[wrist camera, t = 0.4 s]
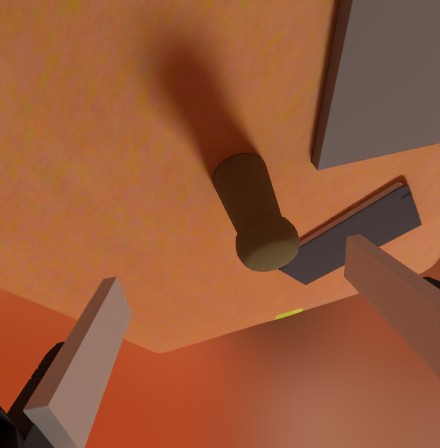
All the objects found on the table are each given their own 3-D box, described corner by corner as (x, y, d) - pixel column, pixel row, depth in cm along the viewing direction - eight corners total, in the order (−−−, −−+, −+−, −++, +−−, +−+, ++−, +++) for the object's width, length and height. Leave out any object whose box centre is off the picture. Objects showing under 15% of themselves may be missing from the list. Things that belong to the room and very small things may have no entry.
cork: (225, 146, 23) (258, 230, 16) (277, 160, 25) (327, 240, 18) (205, 194, 27) (224, 280, 19) (252, 203, 29) (284, 282, 22)
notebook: (302, 278, 48) (415, 217, 39) (305, 285, 47) (422, 224, 38) (268, 257, 40) (399, 175, 31) (271, 265, 39) (408, 183, 30)
